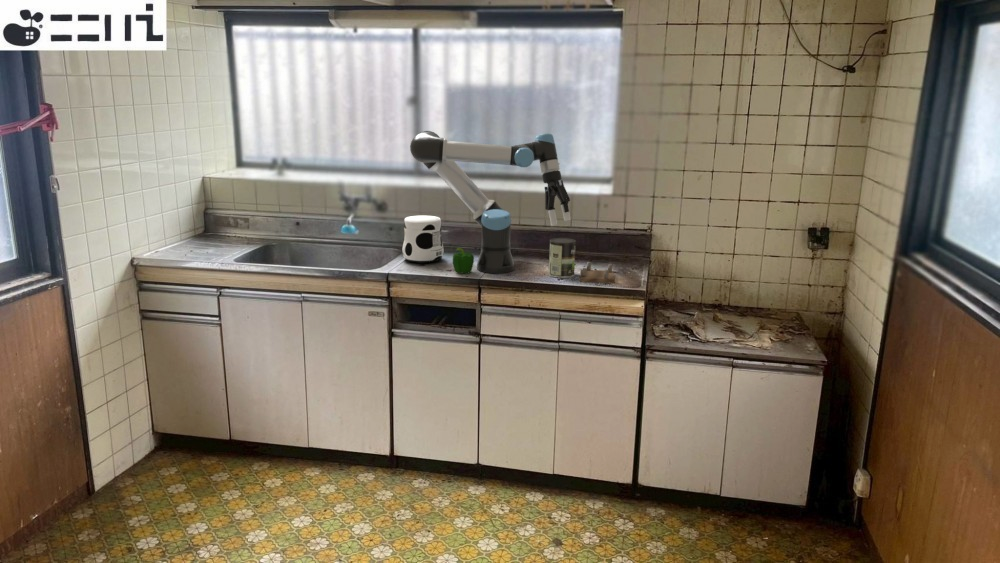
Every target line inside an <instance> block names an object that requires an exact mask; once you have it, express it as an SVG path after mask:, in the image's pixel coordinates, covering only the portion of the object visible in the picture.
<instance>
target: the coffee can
mask: <svg viewBox="0 0 1000 563" xmlns="http://www.w3.org/2000/svg"><path fill="white" fill-rule="evenodd" d="M576 242H577V240H576V239H574V238H568V237H553V238H550V239H549V259H548V260H549V261H548V262H549V267H548V268H549V269H548V276H549V277H551V276H552V277H551V278H555V277H558V279H570V277H571V278H573V277H575V266H576V265H575V264H576V263H575V262H576V244H577V243H576Z"/></svg>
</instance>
